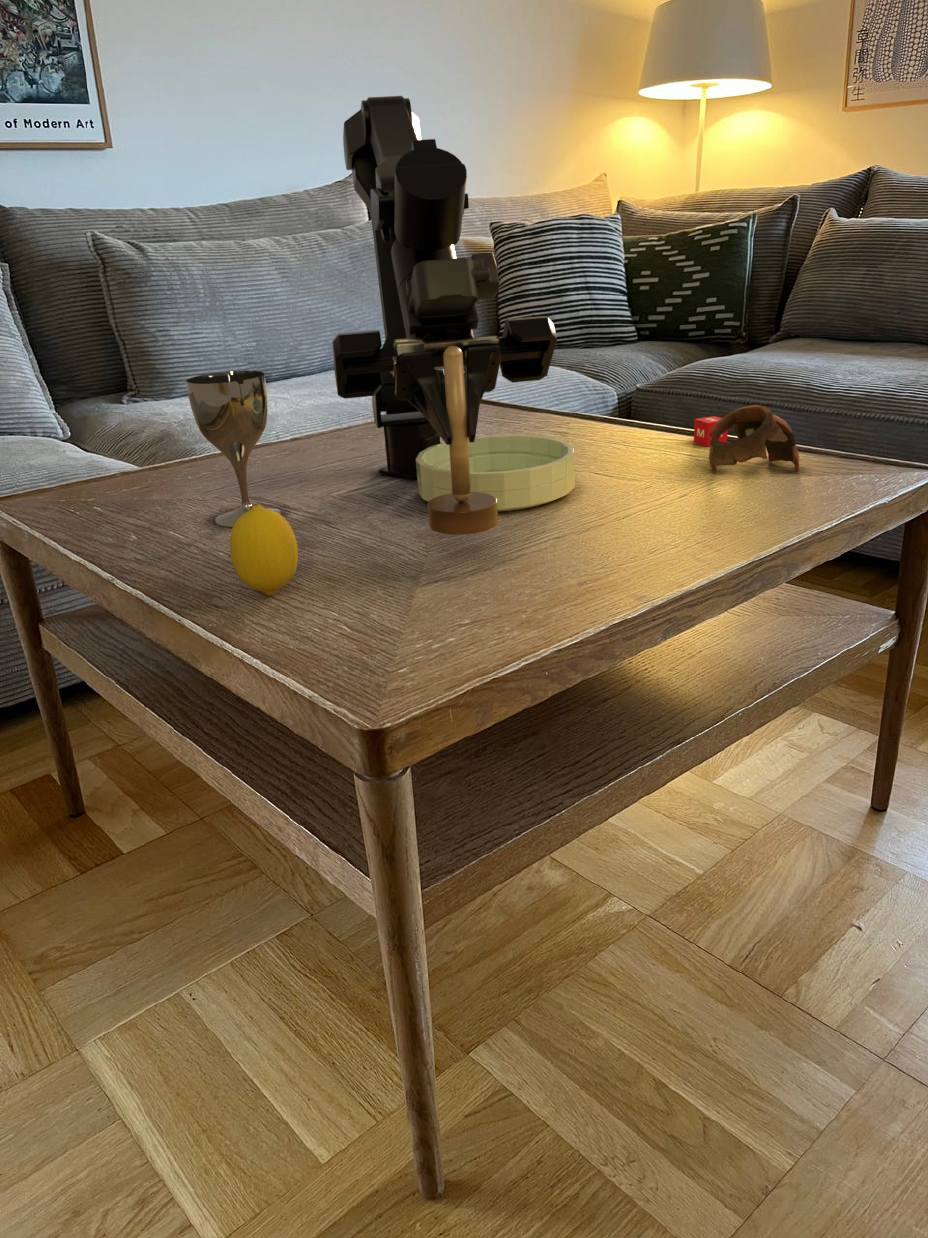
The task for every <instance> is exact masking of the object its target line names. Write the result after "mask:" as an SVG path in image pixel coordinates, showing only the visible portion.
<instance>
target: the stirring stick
mask: <svg viewBox="0 0 928 1238" xmlns="http://www.w3.org/2000/svg"><path fill="white" fill-rule="evenodd" d="M443 361H444V369H443V372H444V376H445V391H446V406H447V415H448V418H449V421H450V427H451V433H452V444H451V445H449V450H450V465H451V480H452V493H450V494H445V495H441V496H438V497H435V498H433V499H431V500H430V501H429V502H428V501H427V515H428V516H427V517H428V525H429V529H430V530H432V531H433V532H436V533H440V534H444V535H451V536H452V535H453V536H454V535H456V536H462V535H463V536H464V535H472V534H478V533H482V532H486V531H489V530H491V529H493V528H494V527H496V526H497V525H498V523H499V514H498V513H499V512H497V499H496V498H495V497H494V496H492V495H490V494H486V493H480V492H471V484H470V467H469V450H468V434H467V417H466V400H465V383H464V366H463V353H462V351H461V350H460V348H458V347H456V346H450V347H448V348H447V349H446V350H445V351H444V354H443Z"/></svg>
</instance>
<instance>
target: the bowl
mask: <svg viewBox="0 0 928 1238" xmlns="http://www.w3.org/2000/svg"><path fill="white" fill-rule="evenodd" d="M468 450H469V467H470V484H471V492H480V493H486V494H490V495H492V496H494V497H495V498H496V499H497V512H498V513H499V512H509V511H510V512H511V511H518V510H519V511H520V510H523V509H524V510H525V509H531V508H534V507H538V506H542V505H545V504H548V503H550V502H553V501H555V500H557V499H560V498H562V497H565V496H567V495H568V494H569V493H570V492H572V490H574V488H576V482H575V481H576V478H575V477H576V476H575V475H576V473H575V471H576V470H575V446H573V445H572V444H571V443H569V442H567V441H565V440H561V439H557V438H554V437H549V436H542V435H534V434H533V435H532V434H494V435H481V436H475V441H474V442H472V443H470V442H469V439H468ZM416 469H417V479H416V480H417V493H418V494H419V495H420V497H421V499H422V500H423V501H426V502H427V503H428V502H429V501H430V500H431V499H433V498H435V497H438V496H441V495H445V494H450V493H452V480H451V465H450V450H449V445H446V443H445V442H444V441H443V442H440V444H438V445H434V446H431V447H429V448H427V449H425V450H423V451H421V452H420V453H419V454H418V456H417V458H416Z"/></svg>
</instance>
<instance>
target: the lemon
mask: <svg viewBox="0 0 928 1238" xmlns="http://www.w3.org/2000/svg"><path fill="white" fill-rule="evenodd" d="M252 506H253V507H252V509H251V510H249V511H247V512H246V513H244V514H243V515H242V516H240V517H239V519H238V520H237V521H236V523H235V524H234V526H233V527H231V532H230V537H229V552H230V553H229V554H230V560H231V563H232V566H233V569H234V572H235V574H236V575H237V577H238V579H240V581H242V583H244V584H245V585H246V586H247V587H249V588H250V589H253V590H255V591H261V592H262V593H264V594H265V595H266V596H269V597H270V596H275V595H276V593H277V592H278V591H279V590H280V589H281V588H282V587H285V585H287V584H288V583H290V581H291V580H292V578H293V577H294V575H295V574H296V571H297V568H298V560H299V548H298V541H297V539H296V535H295V533H294V531H293V528H292V527H291V525H290V523H289V521H288V520H287V519H286V518H285V517H284V516H283V515H280V514H279V513H277V512H275V511H273V510H270V509H266V508H263V507H264V506H262V504H254V505H252Z"/></svg>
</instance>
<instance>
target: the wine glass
mask: <svg viewBox="0 0 928 1238" xmlns="http://www.w3.org/2000/svg"><path fill="white" fill-rule="evenodd" d="M185 384H186V385H185V386H186V390H187V397H188V400H189V404H190V405H189V406H190V409H191V412H192V414H193V417H194V420H195V423H196V426H197V427H198V430H199V431H200V433H201V435H202V436H203V437H204V438H205V439H206V440H207V441H208V442H209V443H211V445H212V446H214V447H215V448H216V449H217V450H218V451H219V452H220V453H222V455H224V457H225V458H227V460H228V461H229V463H230V464H231V466H232V468H233V470H234V473H235V476H236V479H237V483H238V486H239V492H240V498H241V505H240V506H239V507H238V508H236V509H232V510H228V511H226V512H223V513H221V514H219V515H217V516H216V517H215V519H214V523H215V524H216V525H218V526H221V527H227V528H233V526H234V524H235V523H236V521H237V520H238V519H239V517H240V516H242V515H243V514H244V513H246V512H247V511H249V510H251V509H252V507H253V506H254V505H252V504H251V501H250V497H249V492H248V491H249V490H248V482H247V480H248V479H247V476H248V475H247V466H248V462H249V458H250V456H251V453H252V452H253V450H254V448H255V447H256V445H257V443H258V442H259V441H260V439H261V437H262V435H263V434H264V432H265V430H266V426H267V422H268V407H269V405H268V402H269V401H268V391H267V390H268V389H267V382H266V376H265V372H263V371H260V370H231V371H230V370H229V371H220V372H219V371H218V372H212V373H205V374H201V375H195V376H192V377H190V378H189V377H188V379H186V380H185ZM262 507H263V508H266V509H270V510H273V511H275V512H277V513H279V514H280V515H281V514H282V512H281V510H280V509H279V508H277V507H274V506H273V507H272V506H262Z"/></svg>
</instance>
